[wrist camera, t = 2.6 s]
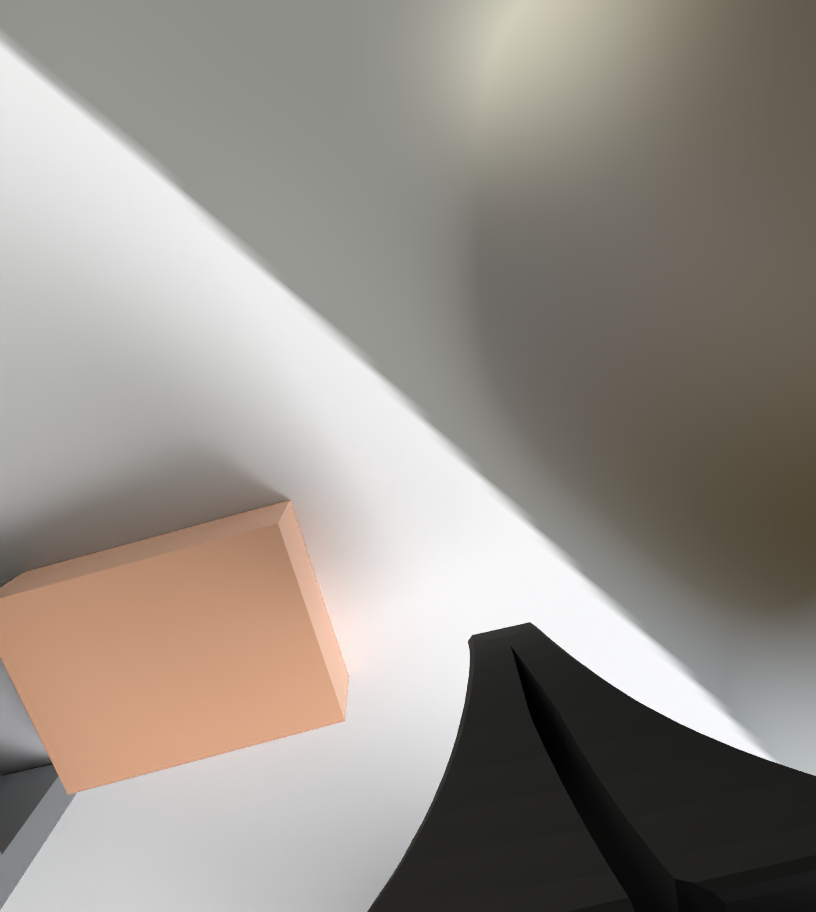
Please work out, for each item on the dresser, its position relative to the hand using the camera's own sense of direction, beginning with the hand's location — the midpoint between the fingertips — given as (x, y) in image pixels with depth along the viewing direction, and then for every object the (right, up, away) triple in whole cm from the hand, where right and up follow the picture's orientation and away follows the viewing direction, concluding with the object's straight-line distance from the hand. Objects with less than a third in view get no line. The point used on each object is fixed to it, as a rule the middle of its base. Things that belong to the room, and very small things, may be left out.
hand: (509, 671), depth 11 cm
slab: (-9, -1, +6) cm, 10 cm away
